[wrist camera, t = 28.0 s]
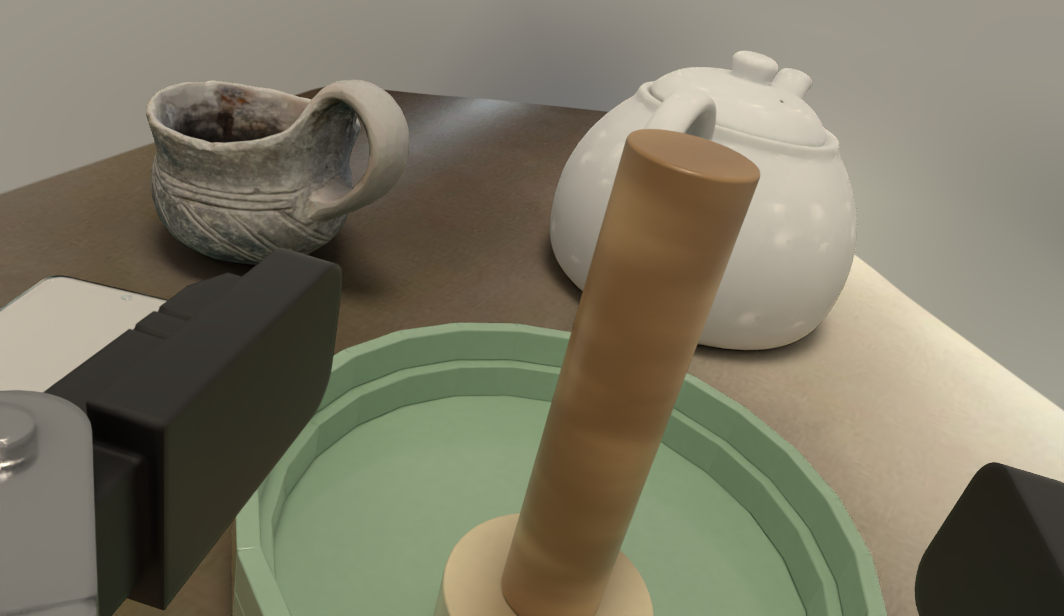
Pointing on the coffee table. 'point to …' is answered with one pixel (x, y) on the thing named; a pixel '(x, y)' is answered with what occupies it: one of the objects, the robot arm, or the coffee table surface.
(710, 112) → the teapot
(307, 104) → the mug
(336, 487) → the pan
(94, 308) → the smartphone
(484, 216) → the coffee table surface
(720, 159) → the brush
